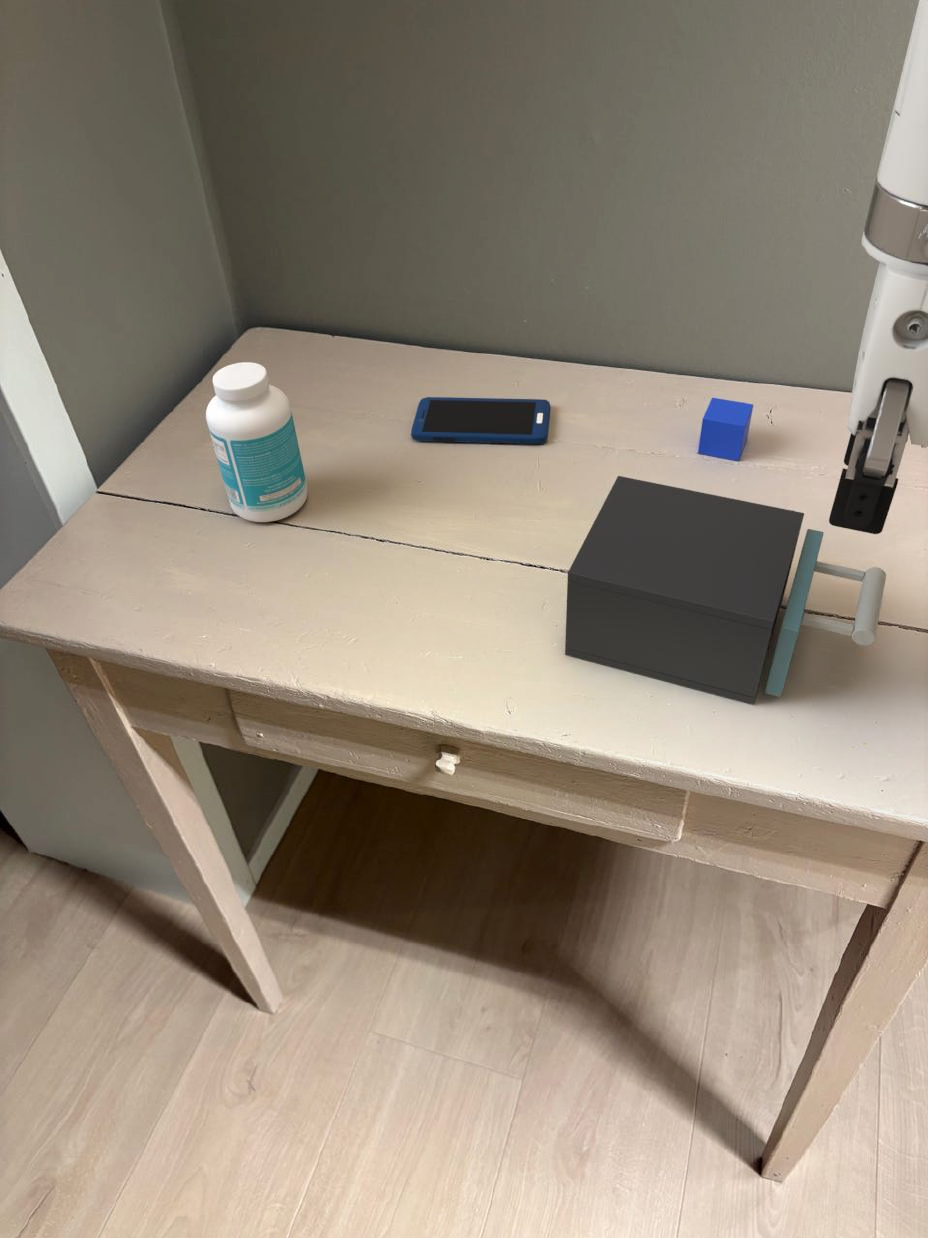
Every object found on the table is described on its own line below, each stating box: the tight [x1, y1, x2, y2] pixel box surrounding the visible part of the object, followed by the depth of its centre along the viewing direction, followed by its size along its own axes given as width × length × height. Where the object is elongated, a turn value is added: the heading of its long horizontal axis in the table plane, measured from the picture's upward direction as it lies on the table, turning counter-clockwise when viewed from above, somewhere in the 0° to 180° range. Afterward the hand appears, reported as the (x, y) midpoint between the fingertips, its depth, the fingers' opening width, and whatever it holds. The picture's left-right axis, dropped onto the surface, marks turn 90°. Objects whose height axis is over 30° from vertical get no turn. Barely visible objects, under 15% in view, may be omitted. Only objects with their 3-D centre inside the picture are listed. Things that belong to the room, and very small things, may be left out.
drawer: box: [764, 528, 887, 698], centre depth 72 cm, size 18×11×7 cm, turn 67°
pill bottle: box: [205, 361, 309, 523], centre depth 87 cm, size 8×7×14 cm
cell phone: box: [410, 396, 552, 445], centre depth 99 cm, size 7×14×1 cm, turn 83°
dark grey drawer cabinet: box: [564, 475, 805, 705], centre depth 74 cm, size 15×13×9 cm
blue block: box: [697, 397, 754, 462], centre depth 93 cm, size 4×4×4 cm
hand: (861, 494), depth 63 cm, fingers open, 6 cm apart
